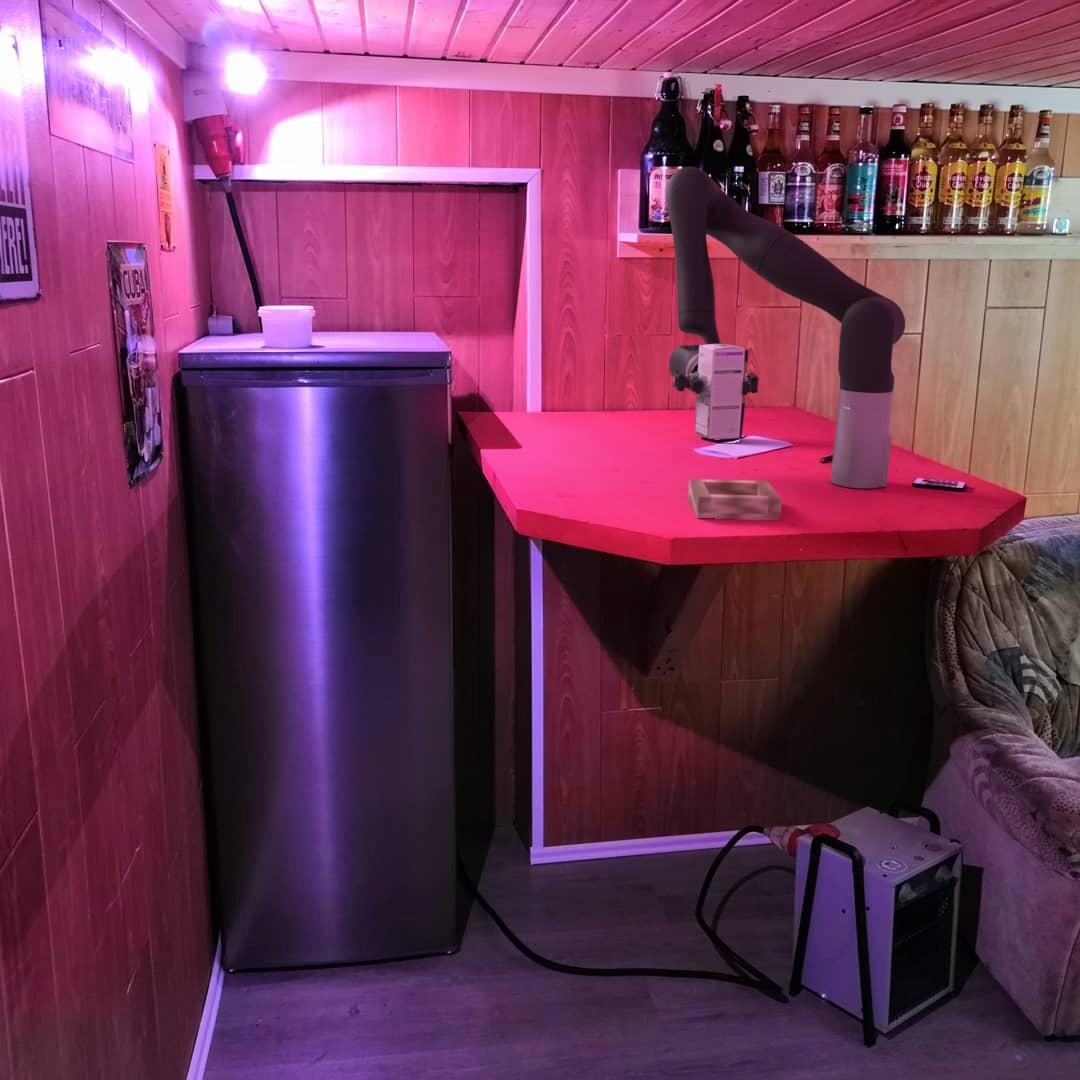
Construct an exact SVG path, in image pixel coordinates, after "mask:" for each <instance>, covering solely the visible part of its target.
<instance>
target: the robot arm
mask: <svg viewBox="0 0 1080 1080" xmlns="http://www.w3.org/2000/svg"><path fill="white" fill-rule="evenodd" d="M665 201H666V206H667V211H668V216H669V221H670V226H671V233H672V240H673V247H674V258H675V270H676V291H677V292H676V293H677V295H676V296H677V297H676V298H677V301H676V303H677V306H676V307H677V326H678V328H679V330H680V331H681V332H683V333H685V334H689V335H696V336H698V337H701V338H702V340H704V342H705V345H707V344H722V343H721V339H720V335H719V332H718V326H717V319H716V300H715V299H716V295H715V294H716V293H715V283H714V277H713V270H712V267H711V262H710V257H709V251H708V242H707V235H708V236H710V237H712V238H713V239H715V240H716V241H718V242H719V243H721V244H722V245H724V246H726V248H728V250H730V251H731V252H732V253H733V254H734V255H735V256H736V257H737V259H739V260H740V261H741V262H742V263H743V264H745V265H746V266H747V267H748V268H749V269H750V270H752V271H753V272H754V273H755V274H757V275H758V276H759V277H761V278H762V279H763V280H765V281H766V282H768V283H769V284H770V285H772V286H774V287H775V288H776V289H779V291H781V292H783V293H785V294H787V295H789V296H791V297H793V298H796V299H798V300H800V301H802V302H804V303H807V304H809V305H812V306H814V307H816V308H818V309H819V310H822V311H824V312H825V313H827V314H828V315H830V316H831V317H832V318H834V319H836V321H838V322H839V323H840V325H841V326H840V333H839V334H840V335H839V346H838V347H839V348H838V363H837V364H838V365H837V367H838V369H837V370H838V374H839V389H838V390H839V391H838V392H839V393H838V401H837V402H838V403H837V412H836V422H835V423H836V424H835V432H834V444H833V452H832V454H833V455H832V464H831V472H830V473H831V474H830V482H831V483H832V484H833V485H836V486H840V487H846V488H853V489H877V488H878V489H879V488H887V484H888V475H889V468H890V467H889V466H890V458H891V457H890V455H891V448H892V440H893V439H892V438H893V436H892V434H890V433H889V431H890V424H891V423H890V422H891V414H892V406H893V397H894V396H893V395H894V386H895V375H894V374H893V368H892V360H893V359H892V357H893V349H894V348H893V346H894V345H895V344H896V343H898V342H899V340H900V339H902V337H903V335H904V334H905V331H906V330H905V329H906V318H905V314H904V312H903V311H902V309H901V307H900V306H899V304H897V303H896V302H895V301H894V300H893V299H891V298H888V297H886V296H884V295H882V294H880V293H878V292H876V291H875V290H873V289H871V288H869V287H867V286H866V285H863V284H862V283H860V282H859V281H857V280H855V279H853V278H852V277H850V276H849V275H847V274H845V272H844V271H842V270H841V269H839V268H838V267H837V266H836V265H835V264H834V263H832V262H831V261H830V260H828V259H827V258H826V257H825V256H823V255H822V254H821V253H820V252H818V251H817V250H816V249H814V248H813V247H812V246H810V245H809V244H808V243H806V242H805V241H804V240H802V239H801V238H799V237H798V236H796V235H795V234H794V233H792V232H790V231H788V230H787V229H785V228H783V226H780V225H778V224H776V223H774V222H773V221H770V220H768V219H765V218H764V217H760V216H758V215H755V214H754V213H752V212H750V211H748V210H747V209H745V208H744V207H742V206H741V205H740V204H739V203H737V202H736V201H735V199H733V198H731V197H730V195H728V194H727V193H726V192H725V191H724V190H723V189H722V188H721V187H720V186H719V185H718V184H717V182H715V180H714V179H713V178H712V177H711V176H710V174H709V175H708V173H707V172H706V171H704V170H702V169H701V168H698V167H696V166H685V167H682V168H680V169H678V170H676V172H674V173H673V174H672V175H671V177H670V178H669V180H668V182H667V184H666V188H665ZM699 345H700V344H692V345H691V344H687V345H680V346H677V347H675V348H674V349H673V351H672V352H671V354H670V357H669V363H668V364H669V365H668V366H669V373H670V375H671V377H672V387H673V388H674V389H675V390H676V391H678V392H683V391H685V389H688V390H687V391H688V392H690V393H694V394H695V395H697V394H700V388H701V380H700V379H699V378H698V359H699ZM759 379H760V377H759V376H758V375H757V374H756V373H754V372H750V373H748V372H747V374H746V377H743V390H742V395H746V396H747V395H748V394H756V393H758V392H759V389H758V388H759Z"/></svg>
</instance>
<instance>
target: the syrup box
mask: <svg viewBox="0 0 1080 1080" xmlns="http://www.w3.org/2000/svg"><path fill="white" fill-rule="evenodd" d="M698 345H699V359H698V378H699V379H700V380H701V388H700V394H696V398H695V399H696V400H695V401H696V402H695V416H694V418H695V419H694V421H695V423H694V433H695V434H698V435H700V436H702V437H704V438H707V439H708V440H709V439H729V438H739V436H740V421H741V406H742V390H743V373H744V357H745V349H746V348H745V347H741V346H738V345H737V346H736V345H733V344H725V343H721V344H707V345H706V344H698Z"/></svg>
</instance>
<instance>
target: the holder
mask: <svg viewBox="0 0 1080 1080" xmlns="http://www.w3.org/2000/svg"><path fill="white" fill-rule="evenodd" d="M687 495H688V497H687V500H688V499H689V500H688V502H689V505H690V506H691V508H692V510H693V512H695V513H694V515H695V514H696V515H695V517H696V516H697V517H696V518H697V519H698V518H715V519H714V520H745V521H746V520H747V521H751V520H752V521H781V514H782V513H781V511H782V501H783V499H782V497H781V496H780V494H778V492H776V490H775V489H774V487H773V486H772V485H771V484H770V483H769V482H768V481H767V480H742V479H741V480H740V479H739V480H737V479H735V480H734V479H700V478H699V479H698V478H696V479H695V478H690V479H689V480H688V494H687Z"/></svg>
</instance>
